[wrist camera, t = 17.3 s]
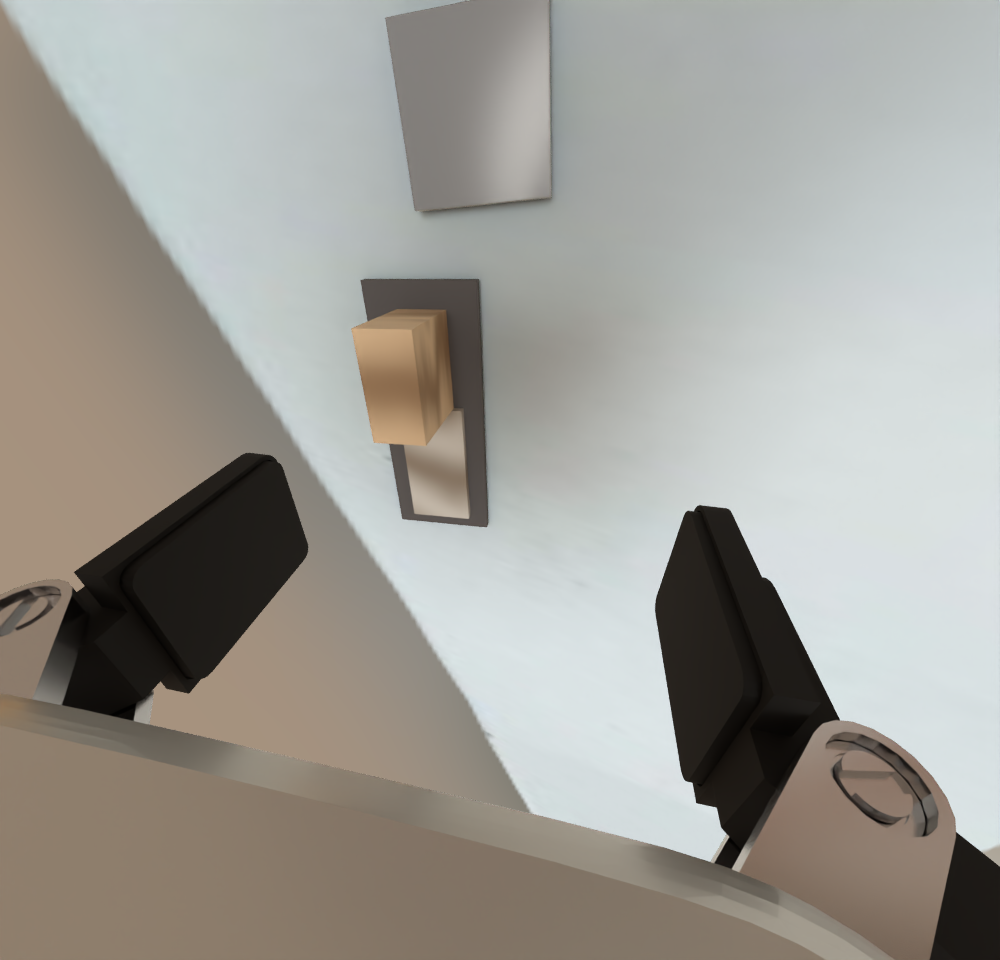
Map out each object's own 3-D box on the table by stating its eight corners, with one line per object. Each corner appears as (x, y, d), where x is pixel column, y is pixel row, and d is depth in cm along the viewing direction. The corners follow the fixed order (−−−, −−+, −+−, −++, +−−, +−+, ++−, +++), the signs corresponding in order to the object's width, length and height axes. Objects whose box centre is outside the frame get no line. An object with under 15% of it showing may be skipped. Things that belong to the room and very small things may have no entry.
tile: (550, 1, 20) (397, 31, 21) (548, -16, 19) (385, 17, 20) (552, 198, 24) (423, 211, 26) (550, 196, 23) (415, 210, 24)
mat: (364, 279, 28) (360, 280, 27) (478, 279, 27) (476, 280, 26) (404, 515, 38) (402, 519, 38) (488, 523, 37) (486, 527, 37)
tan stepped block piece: (386, 308, 28) (338, 328, 23) (456, 309, 27) (424, 329, 22) (416, 509, 37) (387, 558, 31) (470, 514, 36) (450, 565, 31)
